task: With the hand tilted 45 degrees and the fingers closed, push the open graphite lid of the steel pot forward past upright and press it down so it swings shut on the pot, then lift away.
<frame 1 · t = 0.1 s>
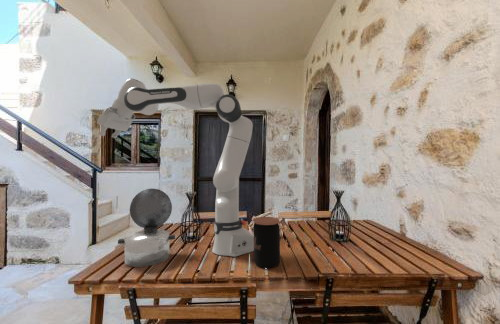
hand: (107, 136, 116), 54 cm above the table, tool tilted 30°, fingers open, 8 cm apart
coffee jar: (266, 263, 101), on the table
pot: (147, 258, 108), on the table
lid: (151, 208, 120), point 19 cm above the table, hinge at 100.0°
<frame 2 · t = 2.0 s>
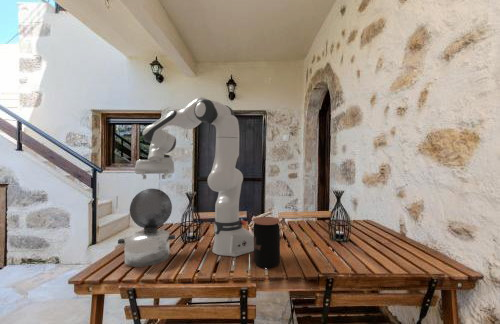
hand: (154, 178, 130), 33 cm above the table, tool tilted 45°, fingers open, 8 cm apart
nothing on the table moved.
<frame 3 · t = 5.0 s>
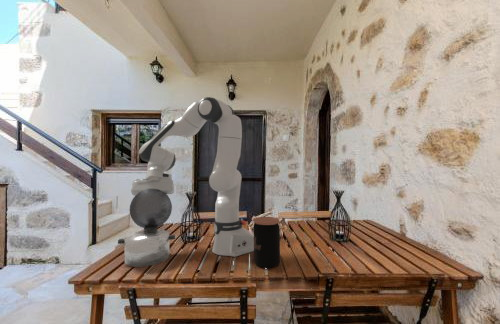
hand: (151, 200, 121), 23 cm above the table, tool tilted 45°, fingers closed, pressing on lid
lid: (151, 208, 120), point 19 cm above the table, hinge at 98.1°, touching gripper
everything else where it was.
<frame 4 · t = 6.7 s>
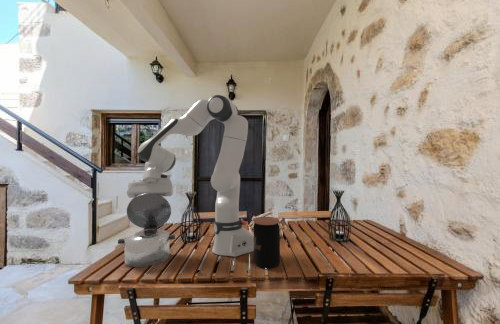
hand: (149, 203, 113), 23 cm above the table, tool tilted 45°, fingers closed, pressing on lid
lid: (149, 210, 115), point 19 cm above the table, hinge at 65.7°, touching gripper
everything else where it was.
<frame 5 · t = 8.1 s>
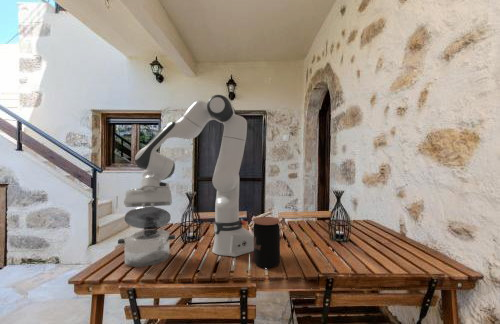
hand: (147, 213, 108), 20 cm above the table, tool tilted 45°, fingers closed, pressing on lid
lid: (148, 216, 111), point 17 cm above the table, hinge at 39.4°, touching gripper
everything else where it was.
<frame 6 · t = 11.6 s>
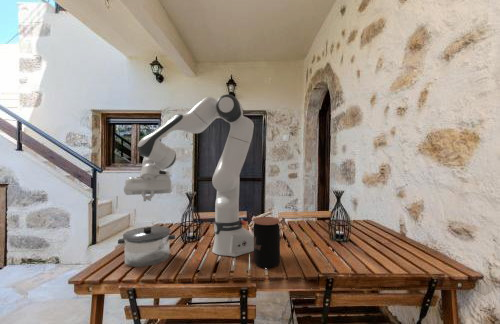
hand: (147, 200, 108), 25 cm above the table, tool tilted 45°, fingers closed
lid: (147, 231, 108), point 12 cm above the table, hinge at -0.1°
everything else where it was.
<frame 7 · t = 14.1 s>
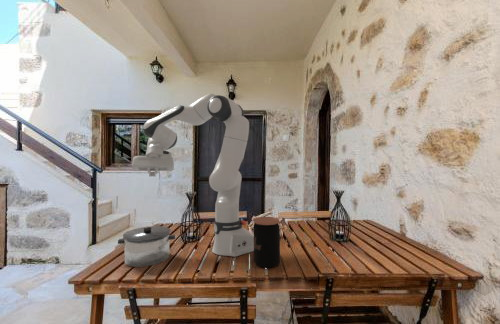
hand: (152, 175, 122), 35 cm above the table, tool tilted 45°, fingers closed
nothing on the table moved.
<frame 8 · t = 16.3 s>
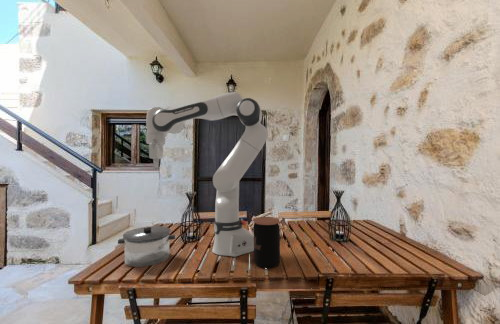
hand: (156, 167, 124), 39 cm above the table, tool pointing down, fingers closed
nothing on the table moved.
at the end: lid at +0° (first picture: +100°); coffee jar moved 0.2 cm from its start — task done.
